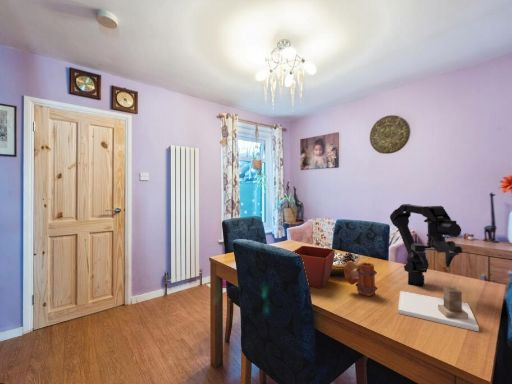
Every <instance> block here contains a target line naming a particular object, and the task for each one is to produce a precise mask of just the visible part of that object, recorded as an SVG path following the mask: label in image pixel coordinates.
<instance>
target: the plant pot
mask: <svg viewBox="0 0 512 384" xmlns="http://www.w3.org/2000/svg"><path fill="white" fill-rule="evenodd" d="M292 252H295V253H297V254H299V255H300V256H301V257H302V259H303V262H304V267H305V271H306V275H307V279H308V283H309V286H308V287H312V288H317V289H322V288H324V287H325V285H326V284H327V282H328V281H329V279H330V275H331V273H332V269H333V265H334V261H335V254H336V249H334V248H326V247H317V246H308V245H301V246H299V247H298V248H296V249H294V250H293V251H292Z"/></svg>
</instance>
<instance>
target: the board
mask: <svg viewBox="0 0 512 384" xmlns="http://www.w3.org/2000/svg"><path fill="white" fill-rule="evenodd" d="M399 292H400V293H399V298H398V299H399V300H398V308H397V314H400V315H404V316H405V315H406V316H409V317H413V318H417V319H422V320H427V321H430V322H434V323H435V322H436V323H439V324H443V325H449V326H453V327H458V328H462V329H467V330H471V331H474V332H475V331H476V332H479V331H480V326H479V325H478V322H477V320H476V318H475V315H474V314H473V312H472V310H471V307H470V305H469V303H467V302H463V301H462V309H463V310H464V311H465V312H466V313H468V319H457V318H446V317H445V316H444V315H443V314H442V313H441V312H440V311H439V310H438V305H444V298H442V297H435V296H429V295H425V294H418V293H414V292H407V291H403V290H399Z"/></svg>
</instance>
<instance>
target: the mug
mask: <svg viewBox="0 0 512 384" xmlns="http://www.w3.org/2000/svg"><path fill="white" fill-rule="evenodd" d="M354 270H356V272H357V274H358V275H357V276H356V277H354V276H352V274H351V272H352V271H354ZM343 273H344V278H345V280H347V282H348V283H349V285H351V286H353V285H354V284H355V287H356V291H357V292H358V293H359V294H360V295H362V296H365V297H371V296H374V295H375V294H376V291H377V290H378V287H377V286H376V278H375V277H376V275H377V273H378V272H377V271H376V270H375V265H374V263H373V262H372V263H371V262H365V261H362V262H360V263H358V264H357V263H355V262H354V261H352V260H348V261H347V262H346V263H345V265H344V266H343Z"/></svg>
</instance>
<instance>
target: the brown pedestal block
mask: <svg viewBox="0 0 512 384" xmlns="http://www.w3.org/2000/svg"><path fill="white" fill-rule="evenodd" d="M462 298H463V296H462V291H461V290H460V289H458V288H456V287H452V286H451V287H450V286H443V299H444V305H438V310H439V311H440V312H441V313H442V314H443V315H444V316H445V317H446V318H457V319H468V313H466V312H465V311H464V310H463V309H462V302H463V299H462Z"/></svg>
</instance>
